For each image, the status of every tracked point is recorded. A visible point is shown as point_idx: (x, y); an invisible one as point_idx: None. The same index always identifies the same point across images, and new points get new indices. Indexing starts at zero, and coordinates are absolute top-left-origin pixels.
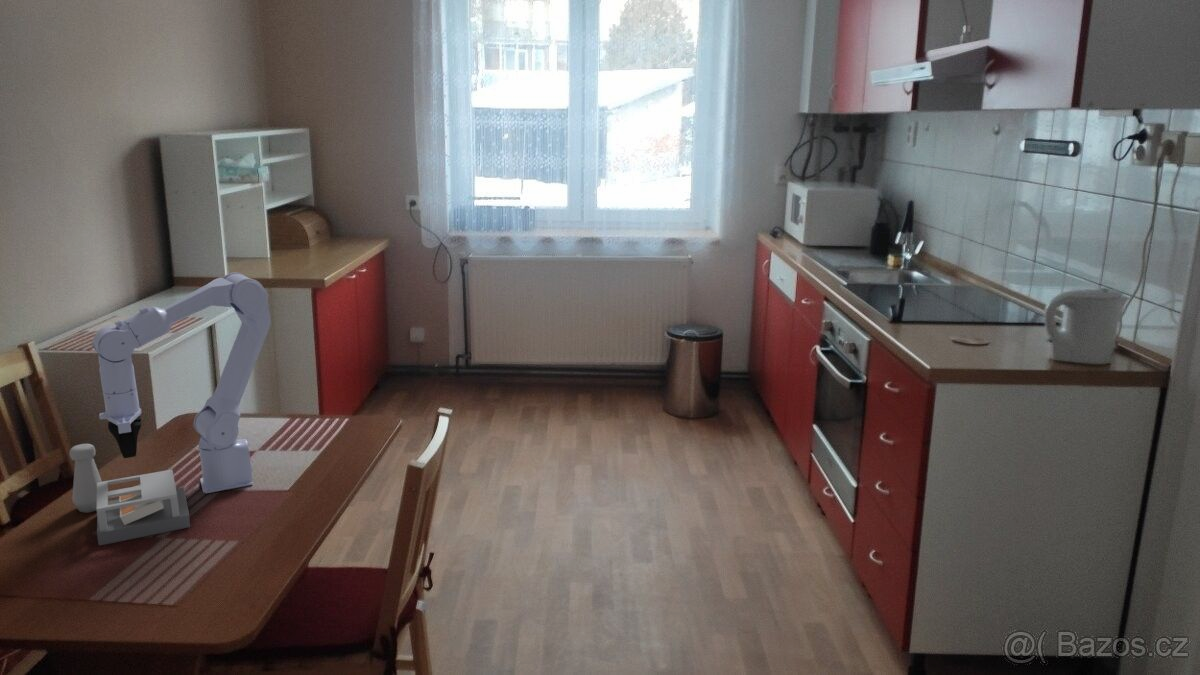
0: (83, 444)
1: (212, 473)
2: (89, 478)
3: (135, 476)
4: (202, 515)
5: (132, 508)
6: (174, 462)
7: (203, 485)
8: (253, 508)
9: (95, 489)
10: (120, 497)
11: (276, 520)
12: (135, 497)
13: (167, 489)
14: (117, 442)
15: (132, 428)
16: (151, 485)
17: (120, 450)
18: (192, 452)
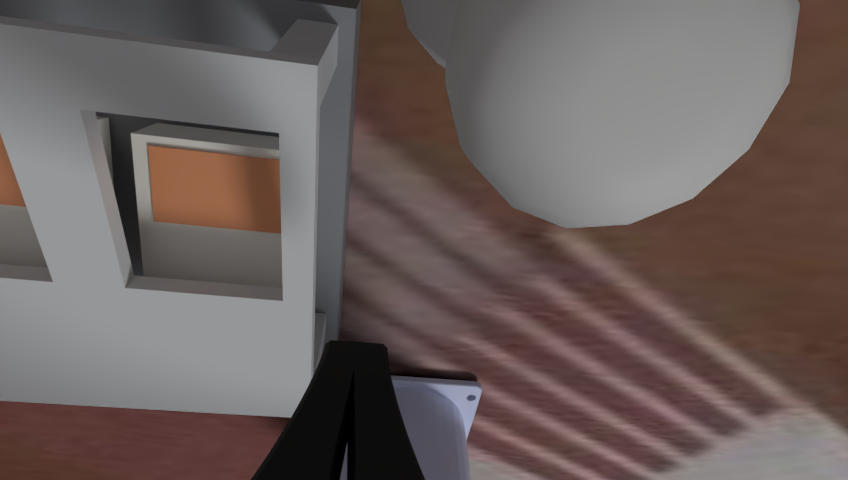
0: (685, 139)
1: (346, 457)
2: (435, 22)
3: (301, 283)
4: None
5: None
6: (738, 343)
7: (401, 385)
8: (145, 443)
9: (420, 31)
10: (205, 148)
11: (27, 466)
12: (142, 217)
13: (12, 375)
14: (259, 475)
15: None
16: (101, 329)
17: (308, 392)
18: (773, 396)
